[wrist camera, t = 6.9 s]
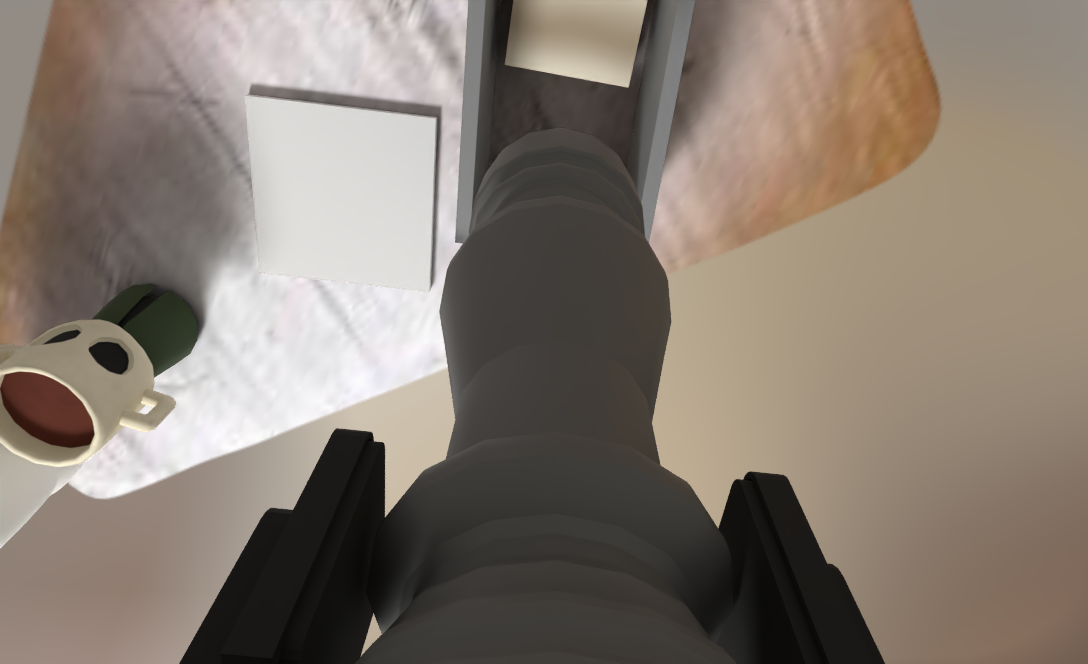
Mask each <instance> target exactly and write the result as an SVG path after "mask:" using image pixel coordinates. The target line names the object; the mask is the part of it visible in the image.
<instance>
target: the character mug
mask: <svg viewBox="0 0 1088 664" xmlns="http://www.w3.org/2000/svg"><path fill="white" fill-rule="evenodd" d="M154 287H155V286H154V285H152V284H145V285H133V286H131V287H130V288H128V289H126V290H125V291H123V292H121V293H120V294H118V295H117V296H116V297H115V298H114V299H113V300H111V301H110V302H109V303H108V304H107V305H106V306H105V307H103V309H102V310H101V311H100V312H99V313H98V314H97V315H96V316H95V317H94V318H93V319H92V320H77V321H72V322H67V323H63V324H61V325H58V326H56V327H54V328H51V329H49V330H47V331H46V332H45V333H43V334H42V335H41V336H39V337H38V338H36V339H35V340H33V341H32V342H30V343H29V344H27V345H25V346H23V347H21V346H18V345H14V344H7V343H6V344H3V345H0V443H1V444H2V445H4V446H5V447H6V448H7V449H9V450H10V451H11V452H12V453H14V454H16V455H18V456H21V457H23V458H25V459H27V460H29V461H31V462H34V463H36V464H42V465H48V466H55V467H64V466H70V465H76V464H80V463H82V462H83V461H85V460H86V459H88V458H89V457H91V456H92V455H94V454H95V453H96V452H98V451H99V450H100V449H101V448H102V447H103V446H104V445H105V444H106V443H108V442H109V441H110V440H111V439H112V438H113V437H114V436H115V435H116V434H117V433H118V432H119V431H120V430H121V429H122V428H123V427H124V426H126V427H129V428H132V429H135V430H139V431H143V432H150V431H152V430H154V429H155V428H156V427H157V426H158V425H159V424H160V423H161V422H162V421H163V420H164V419H165V418H166V416H167V415H168V414H169V413H170V412H171V411H172V410H173V409H174V408H175V405H176V402H175V400H174V399H173V398H172V397H170V396H168V395H165V394H162V393H159V392H156V391H153V387H154V377H156V376H157V375H159V374H161V373H162V372H164V371H165V370H167V369H168V368H170V367H172V366H173V365H175V364H176V363H178V362H179V361H181V360H182V359H183V358H185V357H186V356H188V355H189V354H190V353H191V351H192V349H193V347H194V345H195V343H196V342H197V326H198V322H197V320H196V318H195V316H194V314H193V313H192V311H191V309H190V307H189V305H188V304H187V303H185V302H184V301H183V300H182V299H181V298H179V297H178V296H177V295H176V294H175V293H174V292H171V291H166V292H165V293H164V294H163V295H161V296H160V297H159V298H156V297H155V296H146V294H147V293H148V292H149V291H150V290H152V289H153V288H154ZM145 405H148V406H151V407H154V408H153V409H152V410H151V411H150V412H149V413H148V414H146V415H145V414H141V413H138V412H139V411H140V410H141V409H142V408H143V407H144V406H145Z"/></svg>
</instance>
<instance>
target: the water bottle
mask: <svg viewBox="0 0 1088 664" xmlns="http://www.w3.org/2000/svg"><path fill="white" fill-rule="evenodd" d="M106 444H107V443H106ZM106 444H105V445H106ZM105 445H104V446H105ZM104 446H103V447H104ZM103 447H102V448H103ZM102 448H101V449H102ZM101 449H100V450H101ZM100 450H99V451H100ZM99 451H98V452H99ZM98 452H96V453H95V454H94V455H92V456H91V457H89V458H88V459H86V460H85V461H83V462H82V463H80V464H76V465H70V466H64V467H55V466H48V465H42V464H36V463H34V462H31V461H29V460H27V459H25V458H23V457H21V456H18V455H16V454H14V453H12V452H11V451H10V450H9V449H7V448H6V447H5V446H4V445H2V444H1V443H0V548H1V547H2V546H3V545H4V544H5V543H6V542H7V541H8V540H9V539H10V538H11V537H12V536H13V535H14V534H15V533H16V532H17V531H18V530H19V529H20V528H21V527H22V526H23V525H24V524H25V523H26V522H27V521H28V520H29V519H30V518H31V517H32V516H33V515H34V513H35V512H36V511H37V510H38V509H39V508H40V507H41V506H42V504H43V503H44V502H45V501H46V500H47V498H48V497H49V496H50V495H52V494H53V493H55V492H56V491H58V490H59V489H60V488H62V487H63V486H64V485H65V484H66V483H67V482H68V481H69V480H70V479H71V478H72V477H73V476H74V475H75V474H76V473H77V472H78V470H79V469H80V468H81V466H82V465H83V464H84V463H85V462H87V461H88V460H90V459H91V458H92V457H93V456H95V455H96V454H97V453H98Z"/></svg>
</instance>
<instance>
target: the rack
mask: <svg viewBox="0 0 1088 664" xmlns="http://www.w3.org/2000/svg"><path fill="white" fill-rule="evenodd" d="M694 5H695V0H655V1H654V7H653V13H652V19H651V25H650V31H649V37H648V43H647V49H646V55H645V61H644V67H643V73H642V79H641V85H640V91H639V97H638V103H637V109H636V115H635V121H634V127H633V133H632V139H631V145H630V151H629V157H628V162H627V168H626V169H627V171H628V173H629V175H630V176H631V178H632V180H633V182H634V185H635V187H636V190H637V193H638V196H639V198H640V201H641V204H642V208H643V218H644V229H645V238H646V239H647V241H648V243H649V239H650V234H651V229H652V224H653V219H654V213H655V208H656V203H657V198H658V192H659V187H660V182H661V177H662V172H663V166H664V161H665V156H666V151H667V146H668V140H669V135H670V130H671V125H672V120H673V114H674V109H675V104H676V99H677V94H678V88H679V83H680V78H681V73H682V67H683V62H684V57H685V52H686V47H687V41H688V36H689V31H690V26H691V21H692V15H693V10H694ZM500 10H501V0H468V17H467V35H466V54H465V72H464V90H463V109H462V127H461V145H460V163H459V182H458V200H457V218H456V236H455V242H456V243H464V242H465V240H466V239H467V238H468V236H469V233H468V231H469V226H470V221H471V216H472V211H473V205H474V200H475V197H476V195H477V192H478V190H479V187H480V185H481V182H482V180H483V178H484V175H485V174H486V172H487V171H488V169H489V157H490V144H491V130H492V117H493V104H494V90H495V77H496V63H497V50H498V36H499V23H500Z"/></svg>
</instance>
